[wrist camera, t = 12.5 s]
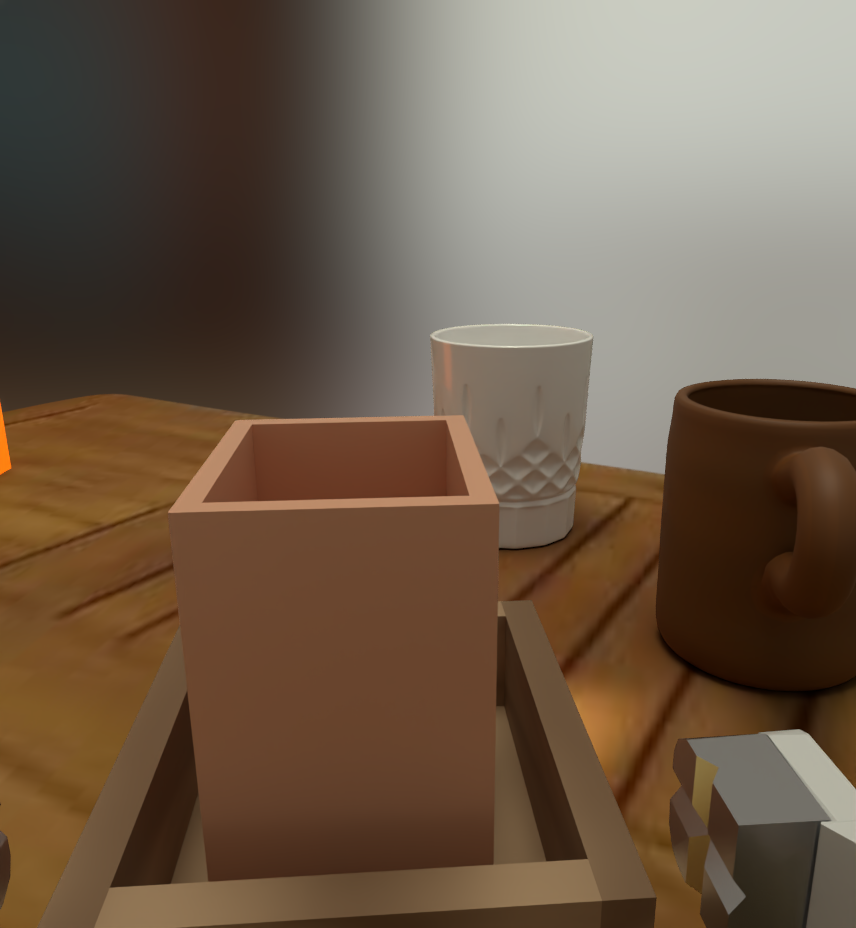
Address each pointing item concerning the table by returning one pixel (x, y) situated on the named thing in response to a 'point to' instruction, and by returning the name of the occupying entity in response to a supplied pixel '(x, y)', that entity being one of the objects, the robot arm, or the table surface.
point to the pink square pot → (341, 646)
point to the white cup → (520, 417)
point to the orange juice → (3, 448)
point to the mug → (761, 533)
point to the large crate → (371, 893)
